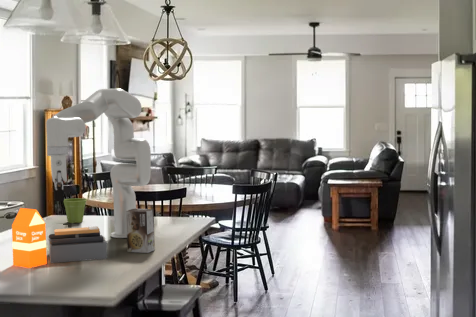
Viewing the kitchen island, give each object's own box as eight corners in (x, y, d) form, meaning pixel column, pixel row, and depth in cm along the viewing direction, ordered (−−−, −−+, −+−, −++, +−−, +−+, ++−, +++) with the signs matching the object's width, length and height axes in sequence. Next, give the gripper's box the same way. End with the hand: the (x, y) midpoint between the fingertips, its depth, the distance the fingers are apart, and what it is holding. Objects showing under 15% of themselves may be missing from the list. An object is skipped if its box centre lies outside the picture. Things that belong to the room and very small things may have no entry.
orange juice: (29, 268, 228) (27, 210, 226) (12, 265, 232) (10, 209, 231) (47, 263, 234) (45, 208, 233) (30, 261, 239) (28, 206, 238)
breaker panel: (102, 250, 257) (102, 228, 256) (107, 258, 242) (107, 235, 241) (49, 254, 251) (48, 231, 250) (50, 262, 235) (49, 239, 235)
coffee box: (155, 250, 256) (154, 208, 255) (147, 253, 250) (146, 211, 249) (134, 248, 259) (133, 208, 258) (126, 252, 253) (125, 210, 252)
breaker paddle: (97, 229, 251) (97, 226, 251) (99, 232, 245) (99, 228, 245) (54, 232, 246) (54, 228, 246) (55, 235, 240) (54, 231, 240)
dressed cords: (99, 235, 255) (99, 230, 255) (103, 242, 242) (103, 236, 242) (48, 239, 249) (48, 233, 249) (49, 245, 236) (49, 240, 236)
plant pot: (84, 224, 320) (83, 201, 320) (60, 224, 321) (59, 201, 320) (90, 220, 332) (89, 198, 332) (66, 220, 332) (66, 198, 332)
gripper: (69, 152, 235) (71, 202, 236) (66, 150, 251) (68, 196, 252) (47, 153, 232) (49, 203, 233) (46, 150, 249) (47, 197, 250)
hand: (59, 199), depth 243 cm, fingers open, 6 cm apart
